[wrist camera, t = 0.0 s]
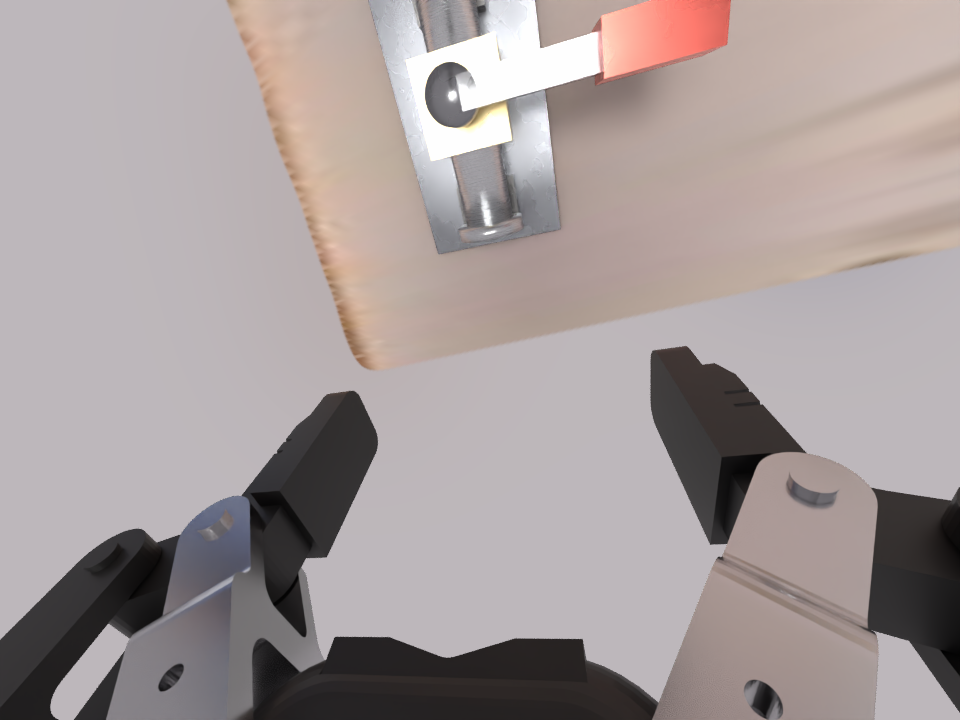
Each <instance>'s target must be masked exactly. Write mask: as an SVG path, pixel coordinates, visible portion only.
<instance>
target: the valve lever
mask: <svg viewBox="0 0 960 720" xmlns="http://www.w3.org/2000/svg"><path fill="white" fill-rule="evenodd" d="M730 3H731V0H651V1H648V2H645V3H642V4H639V5H635V6H632V7H629V8H626V9H622V10H619V11H616V12H613V13H610V14H606V15H603V16H601V18H600V19H599V21H598V22H597V24H596V25H595V27H594V29H593V30H592V34H588V35H585V36H582V37H579V38H575V39H572V40H569V41H565V42H562V43H559V44H556V45H552V46H549V47H546V48H542V49H539V50H536V51H533V52H529V53H526V54H523V55H519V56H516V57H513V58H509V59H506V60H503V61H500V62H496V63H493V64H490V65H486V66H483V67H480V68H477V69H473V70H470V71H469V70H468V69H467V68H466V67H464V66H463V65H461V64H459V63H456V62H444V63H442V64H439V65H438V66H436V67H435V68H434V69H433V70H432V71H431V73H430V74H429V76H428V78H427V81H426V85H425V91H424V96H425V103H426V106H427V109H428V111H429V113H430V115H431V116H432V118H433V119H434V120H435V121H436V122H437V123H439V124H440V125H442V126H445V127H449V128H462V127H465V126H467V125H468V124H469V123H471V122H472V121H473V119H474V118H475V117H476V115H477V113H478V110H479V108H483V107H486V106H490V105H493V104H497V103H500V102H504V101H508V100H511V99H515V98H518V97H522V96H525V95H529V94H532V93H536V92H540V91H543V90H547V89H550V88H554V87H557V86H561V85H564V84H568V83H572V82H575V81H579V80H582V79H586V78H589V77H593V76H595V85H599V84H602V83H606V82H609V81H613V80H617V79H620V78H624V77H628V76H631V75H635V74H638V73H642V72H646V71H649V70H653V69H657V68H660V67H664V66H667V65H671V64H675V63H678V62H682V61H685V60H689V59H693V58H696V57H700V56H703V55H705V54H708V53H710V52H712V51H714V50H716V49H718V48H720V47H723V46H725V45H727V40H728V28H729V15H730Z"/></svg>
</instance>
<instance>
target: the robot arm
mask: <svg viewBox="0 0 960 720" xmlns="http://www.w3.org/2000/svg"><path fill="white" fill-rule="evenodd" d="M651 410H652V415H653V419H654V423H655V425H656V428H657V430H658V432H659V434H660V436H661V439H662V441H663V443H664V445H665V447H666V449H667V451H668V454H669V456H670V458H671V460H672V463H673V465H674V467H675V469H676V471H677V473H678V475H679V477H680V480H681V482H682V484H683V486H684V488H685V491H686V493H687V495H688V497H689V499H690V501H691V504H692V506H693V508H694V510H695V513H696V514H697V517H698V519H699V521H700V523H701V526H702V528H703V530H704V532H705V534H706V536H707V538H708V541H709V543H710V545H711V544H727V546H726V549H725V551H724V553H723V556H722V557H718V558H717V559H716V561H715V563H714V565H713V567H712V569H711V571H710V574H709V576H708V579H707V581H706V584H705V586H704V589H703V592H702V594H701V597H700V599H699V602H698V604H697V607H696V609H695V612H694V614H693V617H692V620H691V622H690V625H689V627H688V630H687V632H686V635H685V637H684V640H683V642H682V645H681V648H680V650H679V653H678V655H677V658H676V660H675V663H674V665H673V668H672V671H671V673H670V676H669V678H668V681H667V683H666V686H665V688H664V691H663V694H662V696H661V699H660V701H659V703H658V702H657V701H656V700H655V699H653V698H652V697H651V696H650V695H649V694H647V693H646V692H645V691H644V690H642V689H641V688H640V687H639V686H637V685H636V684H634V683H633V682H631V681H629V680H628V679H626V678H625V677H623V676H622V675H620V674H618V673H616V672H614V671H612V670H610V669H608V668H606V667H604V666H601V665H598V664H595V663H593V662H590V661H587V660H586V656H585V650H584V644H583V640H582V639H512V640H509V641H505V642H502V643H499V644H495V645H492V646H489V647H485V648H482V649H479V650H476V651H472V652H469V653H466V654H463V655H459V656H456V657H451V658H444V657H440V656H437V655H435V654H432V653H429V652H427V651H424V650H422V649H419V648H416V647H414V646H411V645H408V644H406V643H403V642H400V641H398V640H395V639H392V638H390V637H335V638H334V640H333V643H332V646H331V648H330V651H329V654H328V657H327V659H326V660H324V659H323V656H322V655H321V652H320V649H319V646H318V642H317V636H316V630H315V624H314V618H313V613H312V606H311V600H310V594H309V589H308V582H307V577H306V574H305V572H304V570H303V569H302V568H301V567H302V565H303V562H304V561H305V559H306V558H322V557H327V555H328V553H329V551H330V549H331V547H332V545H333V543H334V541H335V538H336V536H337V534H338V532H339V530H340V528H341V526H342V524H343V522H344V519H345V517H346V515H347V513H348V511H349V508H350V507H351V504H352V502H353V500H354V498H355V496H356V494H357V492H358V490H359V487H360V485H361V483H362V481H363V479H364V477H365V475H366V473H367V470H368V468H369V466H370V464H371V462H372V460H373V458H374V455H375V454H376V451H377V446H378V438H377V433H376V430H375V428H374V426H373V424H372V422H371V420H370V417H369V416H368V413H367V411H366V409H365V407H364V405H363V403H362V400H361V398H360V396H359V395H358V394H357V393H356V392H355V391H347V392H340V393H332V394H327V395H326V396H325V397H324V398H323V399H322V401H321V402H320V403H319V404H318V406H317V407H316V408H315V410H314V411H313V412H312V414H311V415H310V416H308V417H307V418H306V419H305V420H303V421H302V422H301V423H300V424H298V425H297V426H296V428H295V429H294V430H293V431H292V433H291V434H290V435H289V436H288V438H287V439H286V442H284V443H283V444H282V445H281V446H280V448H279V449H278V450H277V454H274V455H273V457H272V458H271V459H270V460H269V462H268V463H267V464H266V465H265V467H264V468H263V469H262V470H261V472H260V473H259V474H258V476H257V477H256V478H255V479H254V481H253V482H252V483H251V484H250V486H249V487H248V488H247V489H246V491H245V492H244V493H243V494H242V496H232V497H229V498H225V499H223V500H220V501H218V502H216V503H214V504H213V505H211V506H209V507H208V508H206V509H205V510H204V511H202V512H201V513H200V514H199V515H197V516H196V517H195V518H194V519H193V520H192V521H191V522H190V523H189V524H188V525H187V527H186V528H185V529H184V530H183V532H182V533H181V535H178V536H175V537H172V538H169V539H166V540H163V541H160V542H158V543H156V542H155V541H154V540H153V539H152V538H151V537H150V536H149V535H148V534H147V533H146V532H145V531H144V530H142V529H132V530H128V531H125V532H122V533H120V534H118V535H116V536H114V537H112V538H110V539H108V540H106V541H105V542H103V543H102V544H100V545H99V546H97V547H96V548H95V549H93V550H92V551H91V552H89V553H88V554H87V555H86V556H84V557H83V558H82V559H81V560H80V561H79V562H78V563H77V564H76V565H75V566H74V567H73V568H72V569H71V570H70V571H69V572H68V573H67V574H66V575H65V576H64V577H63V578H62V579H61V580H60V581H59V582H58V583H57V584H56V585H55V586H54V587H53V588H52V589H51V590H50V591H49V592H48V593H47V594H46V595H45V596H44V597H43V598H42V599H41V600H40V601H39V602H38V603H37V604H36V605H35V606H34V607H33V608H32V609H31V610H30V611H29V612H28V613H27V614H26V615H25V616H24V617H23V618H22V619H21V620H20V621H19V622H18V623H17V624H16V625H15V626H14V627H13V628H12V629H11V630H10V631H9V632H8V633H7V634H6V635H5V636H4V637H3V638H2V639H1V640H0V720H58V719H56V718H55V717H53V715H52V714H51V711H50V704H51V699H52V696H53V694H54V692H55V690H56V688H57V686H58V685H59V684H60V682H61V681H62V680H63V678H64V677H65V676H66V675H67V673H68V672H69V671H70V670H71V668H72V667H73V666H74V665H75V664H76V662H77V661H78V660H79V658H80V657H81V656H82V655H83V654H84V653H85V651H86V650H87V649H88V648H89V646H90V645H91V644H92V643H93V642H94V640H95V639H96V638H97V637H98V635H99V634H100V633H101V632H102V630H103V629H104V628H105V627H106V625H107V624H108V623H109V624H110V625H112V626H113V627H115V628H116V629H117V630H118V631H120V632H121V633H123V634H124V635H125V636H127V637H128V638H130V640H129V641H128V643H127V646H126V649H125V651H124V653H123V654H122V655H121V657H120V658H119V659H118V661H117V662H116V663H115V665H114V666H113V667H112V669H111V670H110V672H109V673H108V674H107V676H106V677H105V678H104V680H103V681H102V682H101V684H100V685H99V686H98V688H97V689H96V691H95V692H94V693H93V695H92V696H91V697H90V699H89V700H88V701H87V703H86V704H85V705H84V707H83V708H82V709H81V711H80V712H79V714H78V715H77V716H76V718H75V719H74V720H874V715H875V700H876V686H877V671H878V640H877V636H876V634H875V632H873V631H876V632H880V633H883V634H887V635H890V636H894V637H898V638H901V639H904V640H908V641H910V643H911V644H912V646H913V647H914V648H915V650H916V651H917V652H918V654H919V655H920V657H921V658H922V660H923V661H924V662H925V664H926V665H927V667H928V668H929V670H930V671H931V672H932V674H933V675H934V677H935V678H936V680H937V681H938V682H939V684H940V685H941V687H942V688H943V689H944V691H945V692H946V694H947V695H948V697H949V698H950V699H951V701H952V702H953V704H954V705H955V707H956V708H957V709H958V711H959V712H960V487H959V489H958V490H957V492H956V494H955V495H954V497H953V499H952V501H950V500H943V499H936V498H930V497H924V496H917V495H910V494H904V493H897V492H891V491H885V490H880V489H874V488H871V487H870V486H869V485H868V484H867V483H866V482H865V481H864V480H863V479H862V478H861V477H860V476H858V475H857V474H856V473H854V472H853V471H851V470H850V469H848V468H846V467H844V466H843V465H841V464H839V463H836V462H834V461H832V460H829V459H826V458H823V457H820V456H816V455H812V454H807V453H806V452H805V451H804V450H803V449H802V448H801V447H800V445H799V444H798V443H797V442H796V441H795V440H794V439H793V438H792V437H791V435H790V434H789V433H788V432H787V431H786V430H785V429H784V428H783V427H782V425H781V424H780V423H779V422H778V421H777V420H776V419H775V418H774V417H773V416H772V415H771V413H770V412H769V411H768V410H767V409H766V408H765V407H764V405H760V401H759V400H758V399H757V398H756V397H755V395H754V394H753V393H752V392H749V389H748V388H747V387H746V386H745V384H744V383H743V382H742V381H741V380H740V379H739V378H738V377H737V375H736V374H734V373H732V372H730V371H728V370H726V369H724V368H723V367H721V366H719V365H717V364H715V363H714V364H705V365H702V364H701V363H700V361H699V360H698V359H697V358H696V356H695V355H694V354H693V353H692V351H691V350H690V349H689V348H688V347H687V346H683V347H676V348H668V349H661V350H654V351H652V354H651ZM872 630H873V631H872Z"/></svg>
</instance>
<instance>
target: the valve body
mask: <svg viewBox="0 0 960 720" xmlns="http://www.w3.org/2000/svg"><path fill="white" fill-rule="evenodd" d="M368 2H369V5H370V9H371V12H372V16H373V20H374V23H375V27H376V30H377V34H378V38H379V41H380V45H381V48H382V52H383V56H384V59H385V63H386V67H387V70H388V74H389V77H390V81H391V85H392V88H393V92H394V95H395V99H396V103H397V106H398V110H399V113H400V117H401V121H402V124H403V128H404V132H405V135H406V139H407V142H408V146H409V150H410V153H411V157H412V160H413V164H414V168H415V171H416V175H417V178H418V182H419V186H420V189H421V193H422V197H423V200H424V204H425V207H426V211H427V215H428V218H429V222H430V225H431V229H432V233H433V236H434V240H435V243H436V247H437V251H438V254H442V253H447V252H452V251H457V250H462V249H467V248H471V247H476V246H481V245H486V244H491V243H496V242H501V241H506V240H510V239H515V238H520V237H525V236H530V235H535V234H540V233H544V232H549V231H554V230H559V229H561V228H560V219H559V210H558V201H557V193H556V184H555V175H554V166H553V157H552V148H551V139H550V130H549V121H548V112H547V104H546V95H545V90H543V91H540V92H536V93H532V94H529V95H525V96H522V97H518V98H515V99H511V100H508V101H504V102H500V103H497V104H493V105H490V106H486V107H483V108H479V110H478V113H477V115H476V117H475V118H474V119H473V121H472V122H471V123H469V124H468V125H467V126H465V127H462V128H449V127H445V126H442V125H440V124H439V123H437V122H436V121H435V120H434V119H433V118H432V116H431V115H430V113H429V111H428V109H427V106H426V103H425V96H424V91H425V85H426V81H427V78H428V76H429V74H430V73H431V71H432V70H433V69H434V68H435V67H436V66H438V65H439V64H442V63H444V62H456V63H459V64H461V65H463V66H464V67H466V68H467V69H468V70H469V71H470V70H473V69H477V68H480V67H483V66H486V65H490V64H493V63H496V62H500V61H503V60H506V59H509V58H513V57H516V56H519V55H523V54H526V53H529V52H533V51H536V50H539V49H540V41H539V32H538V23H537V15H536V6H535V0H368Z"/></svg>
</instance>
